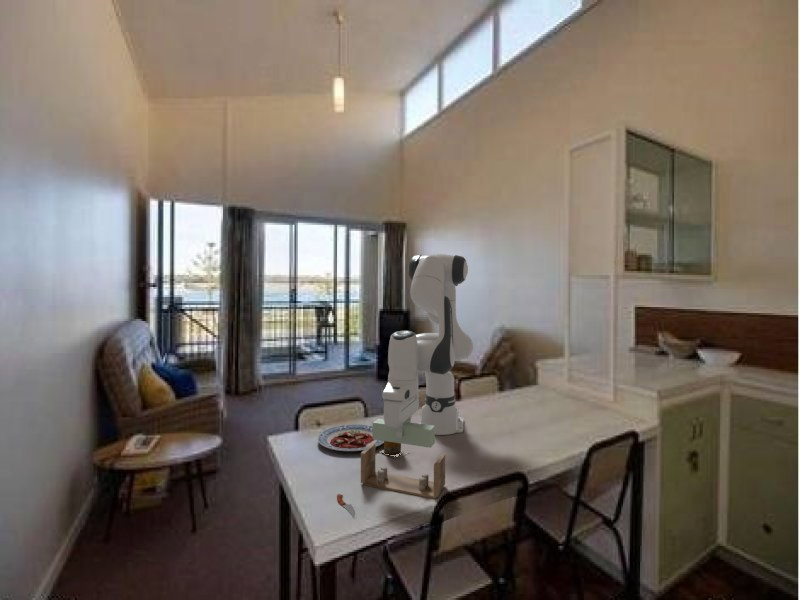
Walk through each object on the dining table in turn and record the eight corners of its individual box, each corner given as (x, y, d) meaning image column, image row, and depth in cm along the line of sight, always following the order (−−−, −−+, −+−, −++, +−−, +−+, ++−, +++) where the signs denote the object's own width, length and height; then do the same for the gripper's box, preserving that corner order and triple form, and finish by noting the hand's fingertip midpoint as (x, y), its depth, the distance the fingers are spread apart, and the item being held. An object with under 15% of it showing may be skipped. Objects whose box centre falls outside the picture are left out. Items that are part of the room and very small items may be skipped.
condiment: (392, 446, 157) (392, 414, 156) (409, 453, 151) (410, 419, 150) (378, 452, 151) (378, 418, 151) (395, 459, 145) (395, 424, 145)
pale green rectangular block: (378, 434, 132) (378, 418, 131) (434, 442, 125) (434, 425, 125) (372, 439, 128) (372, 422, 128) (430, 447, 121) (430, 430, 121)
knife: (363, 515, 111) (353, 518, 110) (363, 517, 111) (353, 520, 110) (342, 492, 123) (333, 495, 121) (342, 494, 123) (333, 497, 121)
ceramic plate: (377, 459, 146) (377, 451, 146) (306, 452, 151) (306, 444, 151) (394, 432, 171) (394, 425, 171) (332, 427, 176) (332, 420, 176)
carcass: (371, 473, 135) (371, 443, 135) (445, 486, 127) (445, 454, 127) (360, 484, 128) (360, 452, 127) (437, 499, 120) (438, 465, 119)
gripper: (405, 378, 137) (404, 421, 137) (379, 394, 117) (379, 444, 118) (424, 380, 134) (423, 424, 135) (401, 396, 115) (401, 447, 116)
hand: (403, 433), depth 126 cm, fingers closed on pale green rectangular block, 4 cm apart
